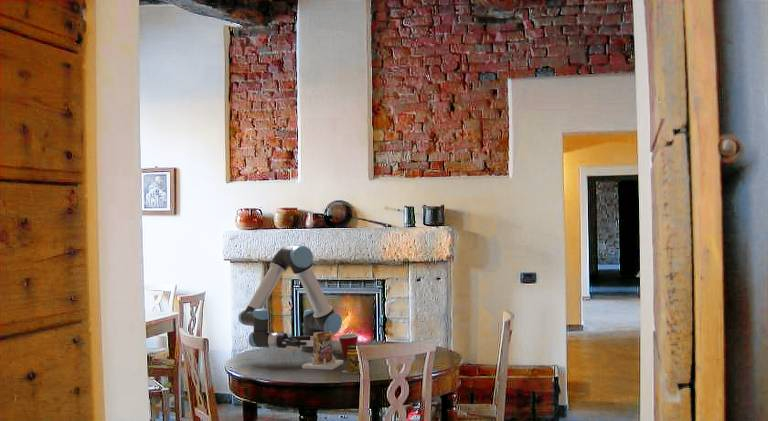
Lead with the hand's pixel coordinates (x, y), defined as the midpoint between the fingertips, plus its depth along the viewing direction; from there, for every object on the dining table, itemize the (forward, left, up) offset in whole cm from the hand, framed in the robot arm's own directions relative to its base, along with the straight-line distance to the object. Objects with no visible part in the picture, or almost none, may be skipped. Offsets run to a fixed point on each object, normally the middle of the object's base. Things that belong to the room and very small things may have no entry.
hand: (318, 341), depth 323 cm
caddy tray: (-1, +2, -12) cm, 12 cm away
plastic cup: (-24, 0, -12) cm, 27 cm away
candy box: (-1, +2, -11) cm, 11 cm away
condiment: (+2, +23, -12) cm, 26 cm away
